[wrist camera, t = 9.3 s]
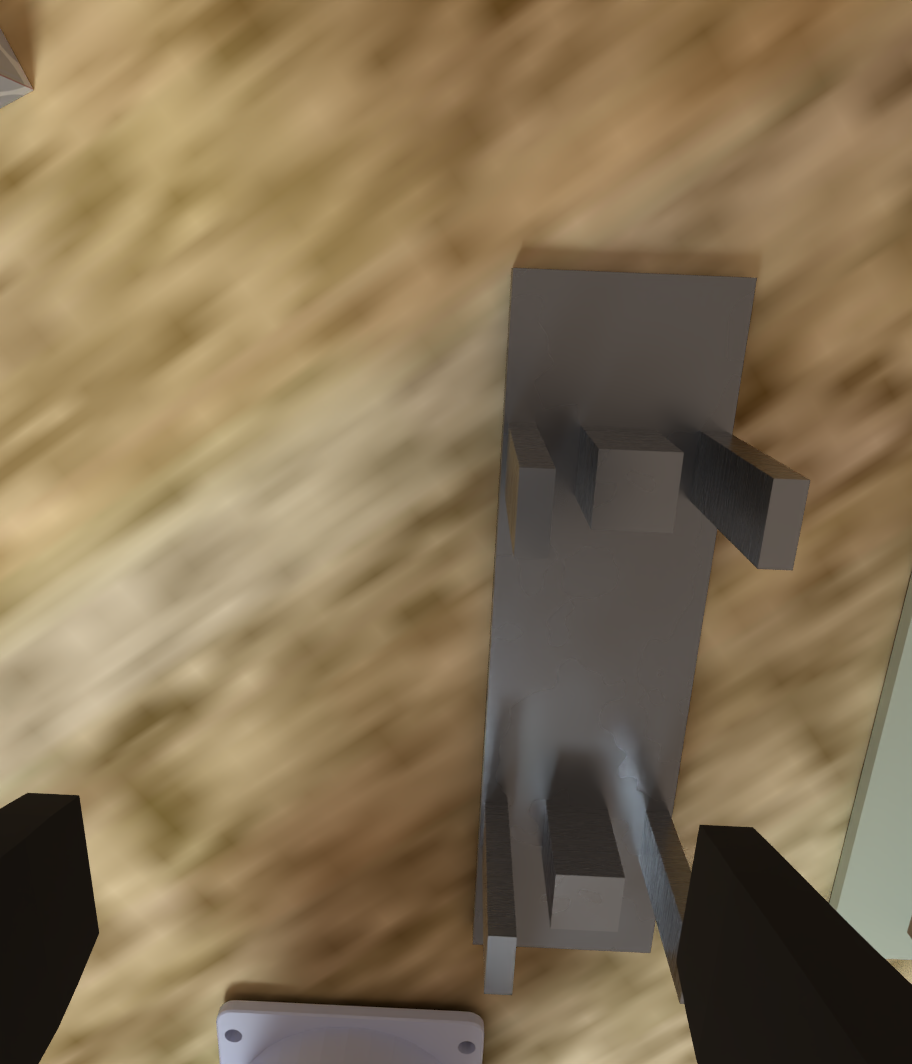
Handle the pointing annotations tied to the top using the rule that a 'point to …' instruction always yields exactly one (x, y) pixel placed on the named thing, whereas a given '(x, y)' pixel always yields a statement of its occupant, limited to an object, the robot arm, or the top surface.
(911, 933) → the rail
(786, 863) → the robot arm
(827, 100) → the top surface
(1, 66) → the box
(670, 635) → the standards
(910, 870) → the mat
